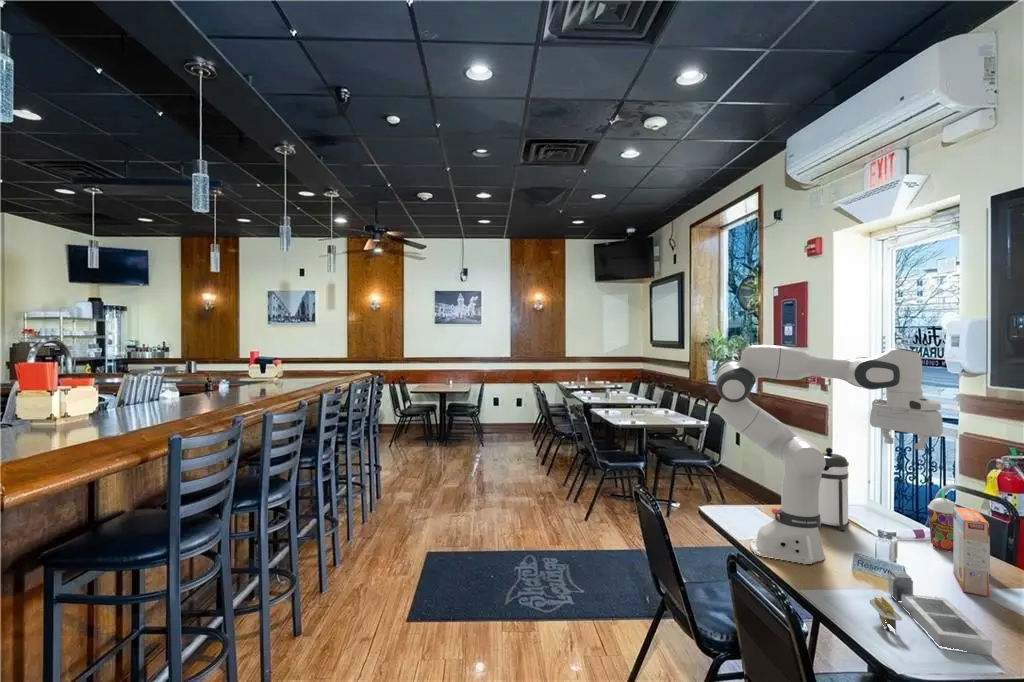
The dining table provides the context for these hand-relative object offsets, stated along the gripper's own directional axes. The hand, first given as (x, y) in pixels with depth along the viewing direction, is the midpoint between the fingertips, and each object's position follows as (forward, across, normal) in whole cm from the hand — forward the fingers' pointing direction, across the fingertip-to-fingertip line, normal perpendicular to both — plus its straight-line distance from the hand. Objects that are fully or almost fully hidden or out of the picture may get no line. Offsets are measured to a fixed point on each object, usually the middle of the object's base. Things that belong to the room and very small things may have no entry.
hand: (903, 446), depth 157 cm
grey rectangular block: (+40, +11, -14) cm, 44 cm away
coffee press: (+40, -42, +16) cm, 59 cm away
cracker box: (+39, +10, +13) cm, 43 cm away
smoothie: (+39, -12, +33) cm, 52 cm away
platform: (+40, +20, -31) cm, 55 cm away
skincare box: (+39, +3, +25) cm, 47 cm away
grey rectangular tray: (+40, +25, -19) cm, 51 cm away
